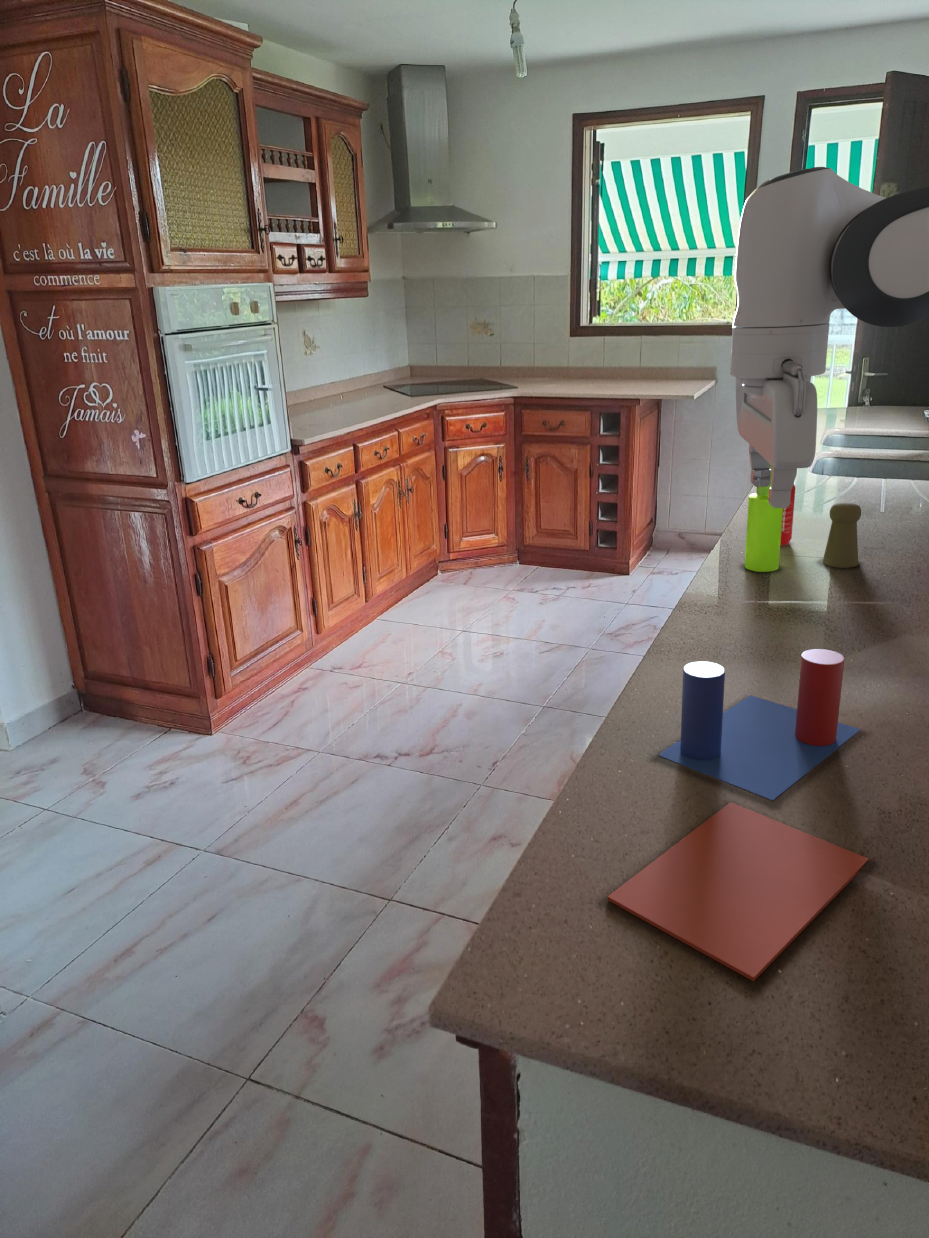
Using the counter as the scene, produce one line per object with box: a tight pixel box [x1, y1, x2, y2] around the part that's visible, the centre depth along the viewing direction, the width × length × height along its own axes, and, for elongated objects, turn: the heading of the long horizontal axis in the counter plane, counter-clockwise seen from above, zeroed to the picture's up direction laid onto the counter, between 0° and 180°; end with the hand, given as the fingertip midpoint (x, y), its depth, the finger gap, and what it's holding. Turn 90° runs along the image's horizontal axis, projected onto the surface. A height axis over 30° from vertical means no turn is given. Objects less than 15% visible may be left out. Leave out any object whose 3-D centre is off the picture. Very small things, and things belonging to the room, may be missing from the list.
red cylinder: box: [795, 648, 845, 746], centre depth 99 cm, size 4×4×10 cm
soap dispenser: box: [744, 464, 783, 573], centre depth 156 cm, size 6×7×20 cm
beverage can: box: [780, 483, 796, 547], centre depth 171 cm, size 5×5×12 cm
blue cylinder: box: [680, 660, 726, 760], centre depth 97 cm, size 4×4×10 cm
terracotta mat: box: [606, 801, 870, 982], centre depth 78 cm, size 14×20×1 cm
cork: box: [822, 501, 862, 569], centre depth 157 cm, size 6×6×11 cm
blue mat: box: [657, 694, 861, 801], centre depth 100 cm, size 14×20×1 cm
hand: (768, 495), depth 91 cm, fingers open, 8 cm apart
